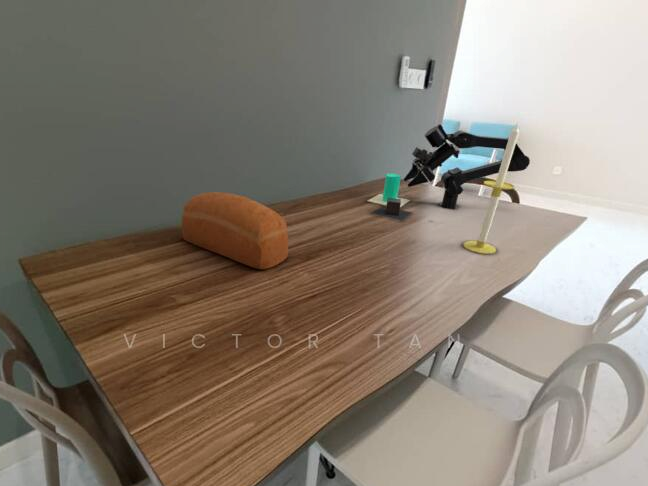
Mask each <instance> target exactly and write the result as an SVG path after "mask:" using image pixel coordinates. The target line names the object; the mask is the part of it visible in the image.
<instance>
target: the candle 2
mask: <svg viewBox="0 0 648 486" xmlns="http://www.w3.org/2000/svg"><path fill="white" fill-rule="evenodd" d="M519 122H520V121H519V120H518V121H517V123H516V125H515V126H514V128H513V129H512V130H511V131H510V134H509V136H508V138H509V140H508V143H507V146H506V150H504V153H503V157H502V159H501V160H502V163H501V166H500V169H499V173H497V176H496V180H485V181H483V185H484V186H486V187H488V188H491V189H492V192H491V193H490V197H489V201H488V204H487V207H486V210H485V214H484V217H483V220H482V224H481V227H480V230H479V234H478V237H477V240H468V241H465V242H464V243H463V244H462V245H463V247H464V248H465V249H466V250H467V251H470V252H473V253H476V254H481V255H492V254H495V253H496V252H497V249H496V247H495V246H493V245H492V244H489V243H487V239H488V236H489V231H490V229H491V226H492V223H493V220H494V216H495V214H496V210H497V207H498V204H499V201H500V197H501V194H502V191H503V190H514V189H515V185H514V184H511V183H509V182H505V179H506V176H507V173H508V171H507V170H508V167H509V164H510V160H511V157H512V154H513V151H514V148H515V144H516V143H517V141H518V138H519V134H520V130H519Z"/></svg>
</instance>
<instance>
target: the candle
mask: <svg viewBox="0 0 648 486" xmlns="http://www.w3.org/2000/svg"><path fill="white" fill-rule="evenodd" d="M401 178H402V175H398V174H396V173H395V171H393V173H386V174H385V179H384V180H385V181H384V187H383V193H382V194H383V199H382V200H383V201H385V202H387V198H396V199H397V198H398V195H399V190H400V185H401Z"/></svg>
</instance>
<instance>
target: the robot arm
mask: <svg viewBox="0 0 648 486" xmlns="http://www.w3.org/2000/svg"><path fill="white" fill-rule="evenodd" d="M424 138H425V139H426V140H427V142H428V143H429V145H430V146H431V147H432V148H436V150H435V149H434V151H430V152H429V151H428V150H426V149H425V148H422V149H421V148H419V147H418V146H416V147H415V148H414V150H413V152H412V153H411V155H413V157H415V158H414V159H413V160H412V162H411V166H412V167H411V169H410V170H409V171H408V173H407V174H406V175H405V177H404V178H403V181H404V182H408V181H409V182H408V183H407V187H408V188H411V187H414V186H417V185H422V184H426V183H431V182H433V181H434V180H435V179H436V175H435V173H434V171H435V170H436V169H437V168H438V167H439V168H441V167H443V164H444V163H445V162H447V160H448V159H450V158H451V157H454V158H455V159H458V158H459V153H460V150H459V149H461V150H462V149H472V148H477V147H478V148H489V149H500V150H501V149H502V150H504V151H505V150H506V146H507V143H508V140H509V137H499V136H498V137H497V136H489V135H477V134H475V133H471V132H469V131H465V130H457V131H455V132H454V133H446V131H445V129H444V126H442V124H441V123H438V124H437V125H436V126H434V127H432V128H430V129H428V130H427V131H426V133H425V134H424ZM449 143H451V144H449ZM454 146H455V147H456V148H458V149H456V148H455V147H454ZM530 162H531V160H530V157H529V156H527V155H526V154H524V151H523V150H522V149H521V148H520V146H519V145H518V144H517V142H516V144H515V148H514V151H513V154H512V157H511V160H510V164H509V167H508V170H507V172H510V173H511V172H521V171H525V170H526V169H527V168H529V165H530ZM501 163H502V159H500V160H498V161H494V162H490V163H487V164H483V165H480V166H476V167H472V168H468V169H464V170H462V169H461V168H460V167H455V168H452V169H447V171H445V172H443V173H442V175H441V177H440V182H441V184H442V185H443V189H445V190H444V192H443V197H442V200H441V202H440V203H439V204H438V205H439V206H441V207H443V208H447V209H452V210H455V209H456V208H457V207H458V206H459V204H458V199H459V195H461V194H463V192H464V188H463V187H462V186H463V185H464V184H465V183H467V182H470V181H474V180H477V179H478V180H479V179H481V178H484V177H488V176H492V175H496V174H498V173H499V169H500V166H501Z"/></svg>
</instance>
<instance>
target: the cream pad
mask: <svg viewBox="0 0 648 486" xmlns="http://www.w3.org/2000/svg"><path fill="white" fill-rule="evenodd" d="M382 199H383V193H379V194H376V195H375V196H373V197H371V198H370V199H367V202H370V203H375V204H378V205H382V206H386V204H387V202H385V201H383V200H382ZM397 199H401V205H400V208H401V207H402V206H403V207H404V205H406V204H407V203H408V202H410V201H411V199H407V198H401V197H397Z"/></svg>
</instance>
